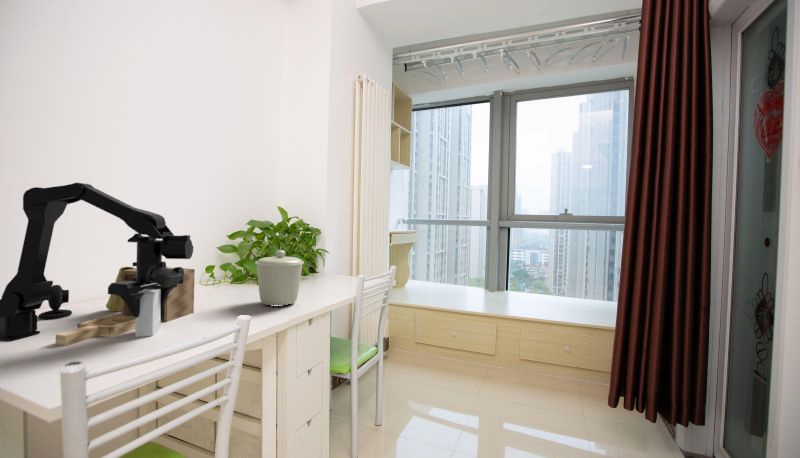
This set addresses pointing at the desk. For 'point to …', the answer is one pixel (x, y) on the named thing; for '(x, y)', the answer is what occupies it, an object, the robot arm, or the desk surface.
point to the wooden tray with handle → (97, 329)
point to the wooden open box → (169, 296)
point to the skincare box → (149, 313)
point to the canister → (279, 279)
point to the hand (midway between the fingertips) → (148, 313)
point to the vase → (115, 300)
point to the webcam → (56, 304)
